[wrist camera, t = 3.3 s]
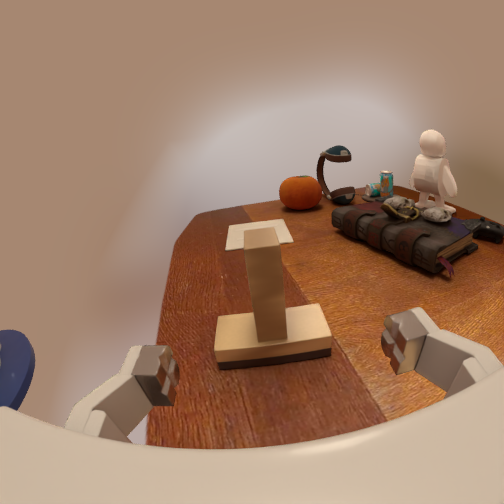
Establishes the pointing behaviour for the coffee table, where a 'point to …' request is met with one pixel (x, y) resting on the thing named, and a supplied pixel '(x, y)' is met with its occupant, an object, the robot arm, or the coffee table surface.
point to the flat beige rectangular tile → (237, 231)
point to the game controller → (489, 229)
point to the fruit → (300, 192)
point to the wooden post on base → (269, 315)
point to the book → (409, 231)
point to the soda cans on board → (380, 187)
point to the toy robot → (433, 172)
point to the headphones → (332, 155)
